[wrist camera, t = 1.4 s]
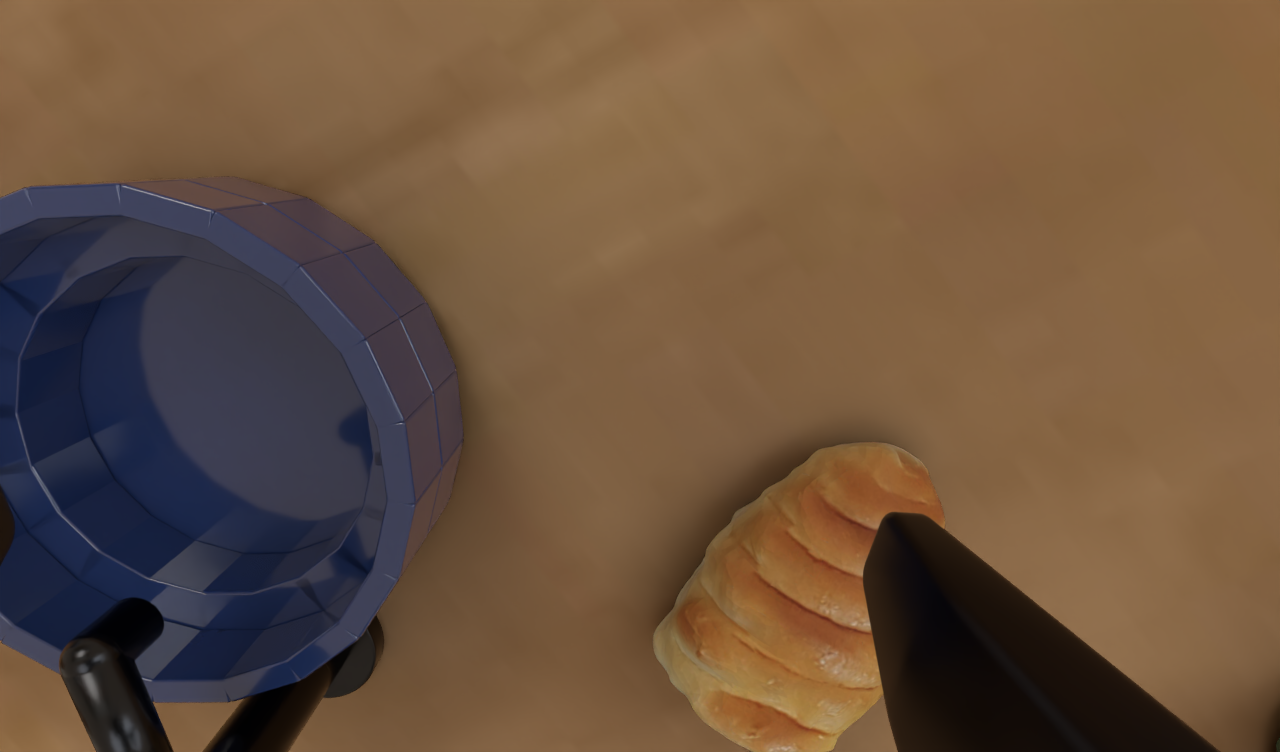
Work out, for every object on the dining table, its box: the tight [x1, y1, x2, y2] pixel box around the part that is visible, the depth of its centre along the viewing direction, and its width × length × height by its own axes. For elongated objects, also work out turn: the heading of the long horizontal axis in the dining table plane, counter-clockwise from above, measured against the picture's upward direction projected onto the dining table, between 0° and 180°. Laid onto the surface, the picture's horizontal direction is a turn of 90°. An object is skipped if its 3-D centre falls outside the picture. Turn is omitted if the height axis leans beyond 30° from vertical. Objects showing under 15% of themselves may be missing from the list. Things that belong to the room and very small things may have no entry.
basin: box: [0, 176, 464, 703], centre depth 21 cm, size 13×13×5 cm
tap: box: [59, 597, 384, 752], centre depth 21 cm, size 7×4×9 cm, turn 11°
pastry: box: [653, 442, 945, 752], centre depth 22 cm, size 9×7×4 cm
